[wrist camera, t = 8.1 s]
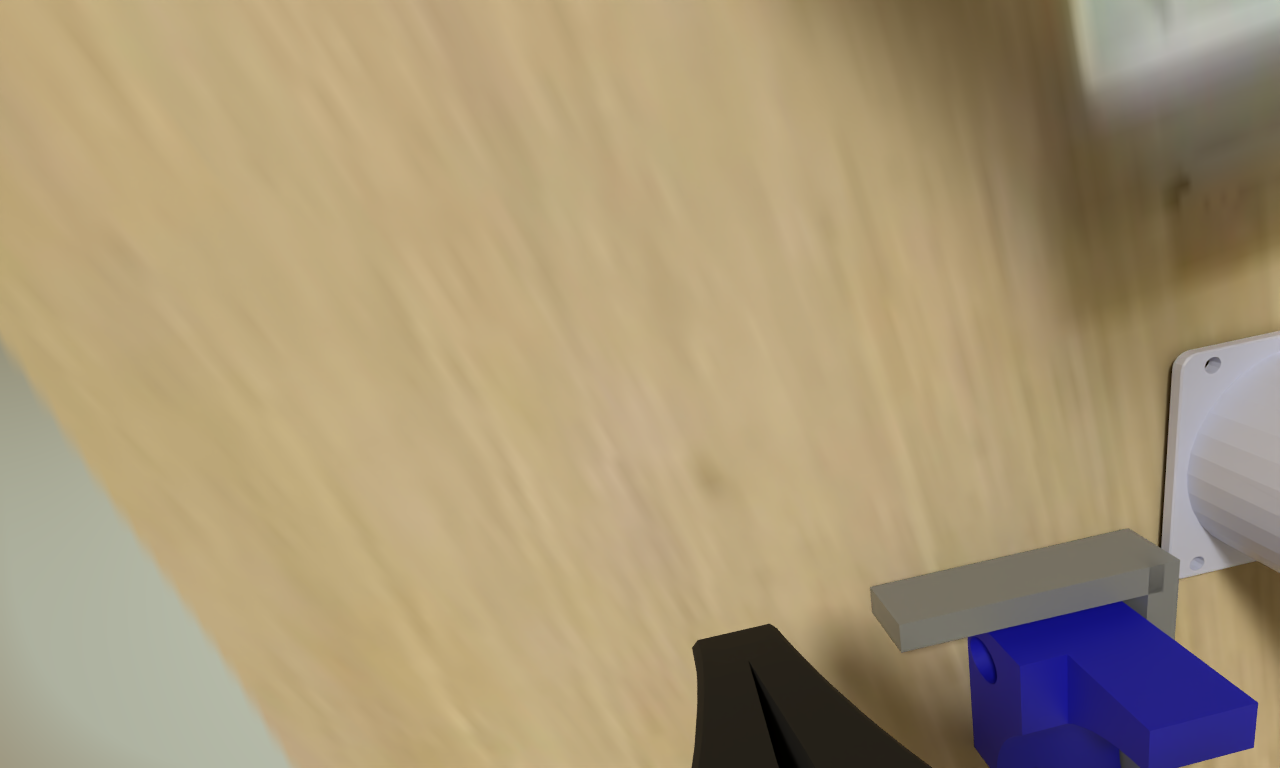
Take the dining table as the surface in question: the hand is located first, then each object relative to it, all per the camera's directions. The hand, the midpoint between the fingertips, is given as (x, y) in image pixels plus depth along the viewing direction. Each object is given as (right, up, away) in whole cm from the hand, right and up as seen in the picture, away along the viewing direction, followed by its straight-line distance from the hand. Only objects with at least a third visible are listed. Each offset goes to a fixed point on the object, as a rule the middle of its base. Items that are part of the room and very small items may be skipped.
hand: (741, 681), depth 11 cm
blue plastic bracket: (+13, -8, +14) cm, 20 cm away
